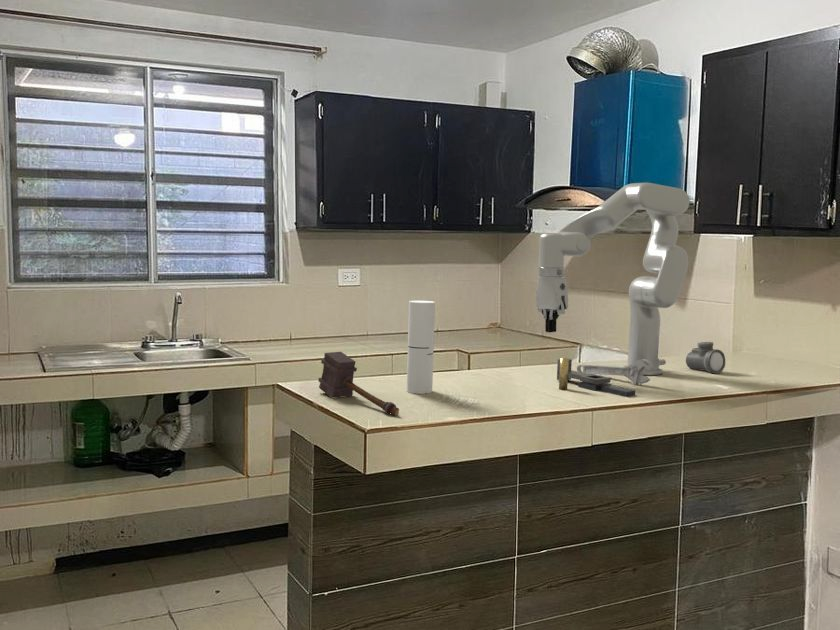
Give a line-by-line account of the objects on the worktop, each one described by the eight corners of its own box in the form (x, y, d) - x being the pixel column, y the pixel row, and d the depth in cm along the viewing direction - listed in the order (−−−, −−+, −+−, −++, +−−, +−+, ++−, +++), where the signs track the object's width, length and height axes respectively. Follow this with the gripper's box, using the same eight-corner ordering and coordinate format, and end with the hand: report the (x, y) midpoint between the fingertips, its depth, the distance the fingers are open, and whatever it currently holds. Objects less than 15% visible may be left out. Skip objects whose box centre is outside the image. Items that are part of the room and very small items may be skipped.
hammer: (338, 385, 221) (343, 350, 218) (405, 434, 196) (411, 396, 193) (316, 387, 217) (320, 352, 214) (382, 438, 192) (387, 399, 189)
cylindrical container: (402, 389, 225) (405, 300, 222) (426, 388, 228) (428, 300, 225) (412, 394, 218) (415, 303, 216) (436, 393, 221) (439, 302, 218)
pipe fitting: (728, 371, 267) (725, 341, 267) (711, 375, 264) (708, 344, 263) (699, 370, 278) (697, 340, 277) (683, 373, 274) (680, 343, 274)
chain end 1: (568, 378, 248) (569, 358, 247) (610, 387, 235) (611, 366, 234) (554, 379, 244) (555, 359, 244) (595, 389, 231) (596, 368, 230)
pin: (563, 387, 234) (564, 357, 233) (569, 389, 232) (570, 358, 231) (557, 388, 232) (558, 358, 231) (563, 390, 230) (564, 359, 229)
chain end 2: (593, 384, 240) (594, 380, 240) (638, 394, 227) (638, 390, 226) (577, 386, 236) (578, 382, 236) (622, 397, 223) (622, 392, 222)
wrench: (580, 381, 262) (654, 386, 237) (576, 381, 261) (650, 387, 236) (579, 356, 262) (653, 359, 237) (576, 357, 260) (649, 360, 236)
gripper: (577, 273, 244) (576, 333, 246) (543, 271, 256) (542, 328, 258) (560, 275, 240) (559, 335, 242) (525, 272, 252) (525, 330, 254)
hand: (550, 331), depth 250 cm, fingers closed
